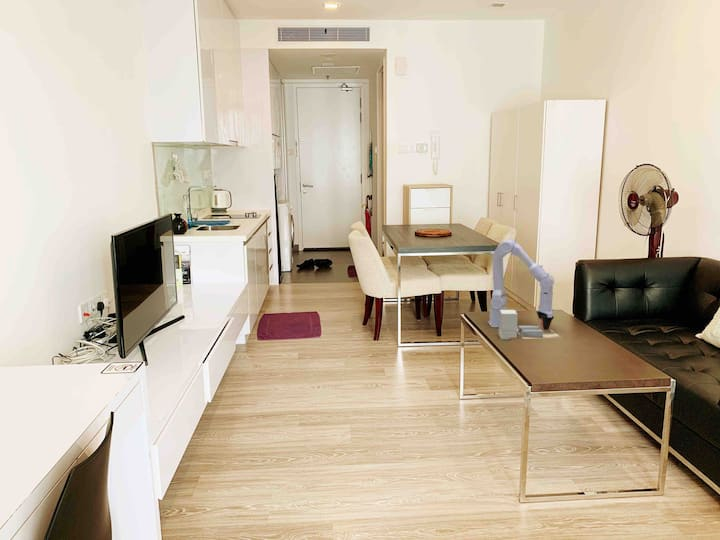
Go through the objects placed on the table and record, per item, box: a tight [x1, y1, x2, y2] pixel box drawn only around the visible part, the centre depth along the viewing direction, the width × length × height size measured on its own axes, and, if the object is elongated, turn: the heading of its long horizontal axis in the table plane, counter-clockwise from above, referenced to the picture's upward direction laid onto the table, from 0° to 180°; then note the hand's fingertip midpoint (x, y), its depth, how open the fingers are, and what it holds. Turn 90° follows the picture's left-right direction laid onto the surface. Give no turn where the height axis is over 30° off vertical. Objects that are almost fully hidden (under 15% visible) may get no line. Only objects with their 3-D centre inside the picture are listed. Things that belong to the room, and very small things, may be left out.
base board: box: [517, 325, 563, 340], centre depth 265 cm, size 18×18×4 cm
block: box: [536, 317, 553, 331], centre depth 269 cm, size 5×5×5 cm
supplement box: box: [498, 309, 519, 340], centre depth 260 cm, size 7×7×13 cm
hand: (544, 327), depth 269 cm, fingers closed on block, 5 cm apart
